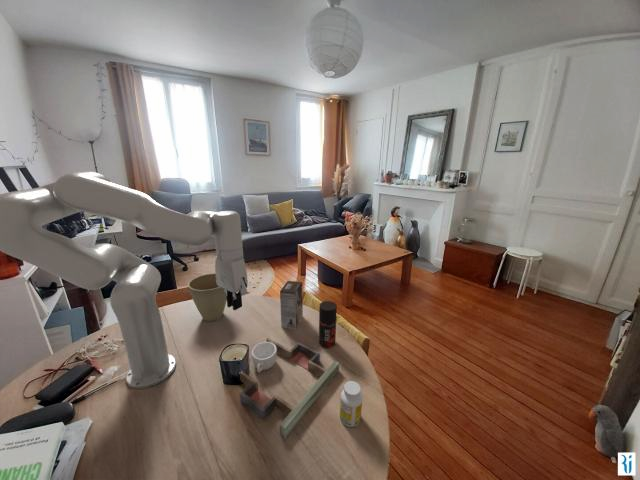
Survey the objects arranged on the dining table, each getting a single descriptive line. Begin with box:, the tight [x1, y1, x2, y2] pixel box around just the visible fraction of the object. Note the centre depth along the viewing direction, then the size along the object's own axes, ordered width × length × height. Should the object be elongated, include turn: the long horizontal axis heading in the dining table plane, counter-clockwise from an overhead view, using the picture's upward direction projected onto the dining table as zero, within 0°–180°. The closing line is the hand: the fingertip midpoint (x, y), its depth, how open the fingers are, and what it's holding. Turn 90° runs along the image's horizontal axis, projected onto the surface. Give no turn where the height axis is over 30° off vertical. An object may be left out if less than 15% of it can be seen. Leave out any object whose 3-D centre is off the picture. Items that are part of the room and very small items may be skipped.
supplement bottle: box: [339, 380, 363, 428], centre depth 63 cm, size 5×5×10 cm
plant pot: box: [187, 273, 227, 322], centre depth 103 cm, size 15×15×16 cm
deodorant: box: [318, 300, 338, 349], centre depth 89 cm, size 6×6×15 cm
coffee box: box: [279, 280, 304, 330], centre depth 100 cm, size 9×6×16 cm
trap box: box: [239, 337, 340, 439], centre depth 76 cm, size 26×25×3 cm
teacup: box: [251, 341, 278, 373], centre depth 79 cm, size 10×8×5 cm
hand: (234, 306), depth 81 cm, fingers closed
